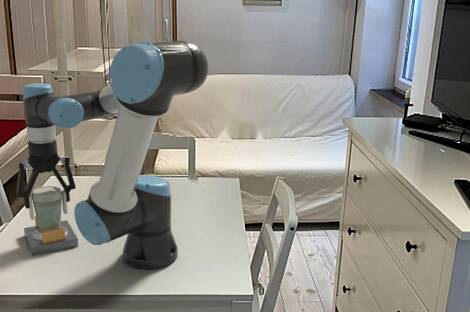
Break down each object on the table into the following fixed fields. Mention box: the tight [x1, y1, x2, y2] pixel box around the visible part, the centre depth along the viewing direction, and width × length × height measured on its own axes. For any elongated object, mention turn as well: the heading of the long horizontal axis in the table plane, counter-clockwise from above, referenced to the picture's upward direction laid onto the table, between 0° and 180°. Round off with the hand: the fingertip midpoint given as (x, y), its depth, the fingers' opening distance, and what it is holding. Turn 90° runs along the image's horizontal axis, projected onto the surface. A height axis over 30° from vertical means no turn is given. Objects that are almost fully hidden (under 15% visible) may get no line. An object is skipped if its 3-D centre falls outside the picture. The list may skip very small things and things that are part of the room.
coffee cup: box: [31, 185, 63, 232], centre depth 150 cm, size 8×8×12 cm
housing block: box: [23, 215, 79, 256], centre depth 152 cm, size 14×13×6 cm
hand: (48, 215), depth 150 cm, fingers closed on coffee cup, 8 cm apart
